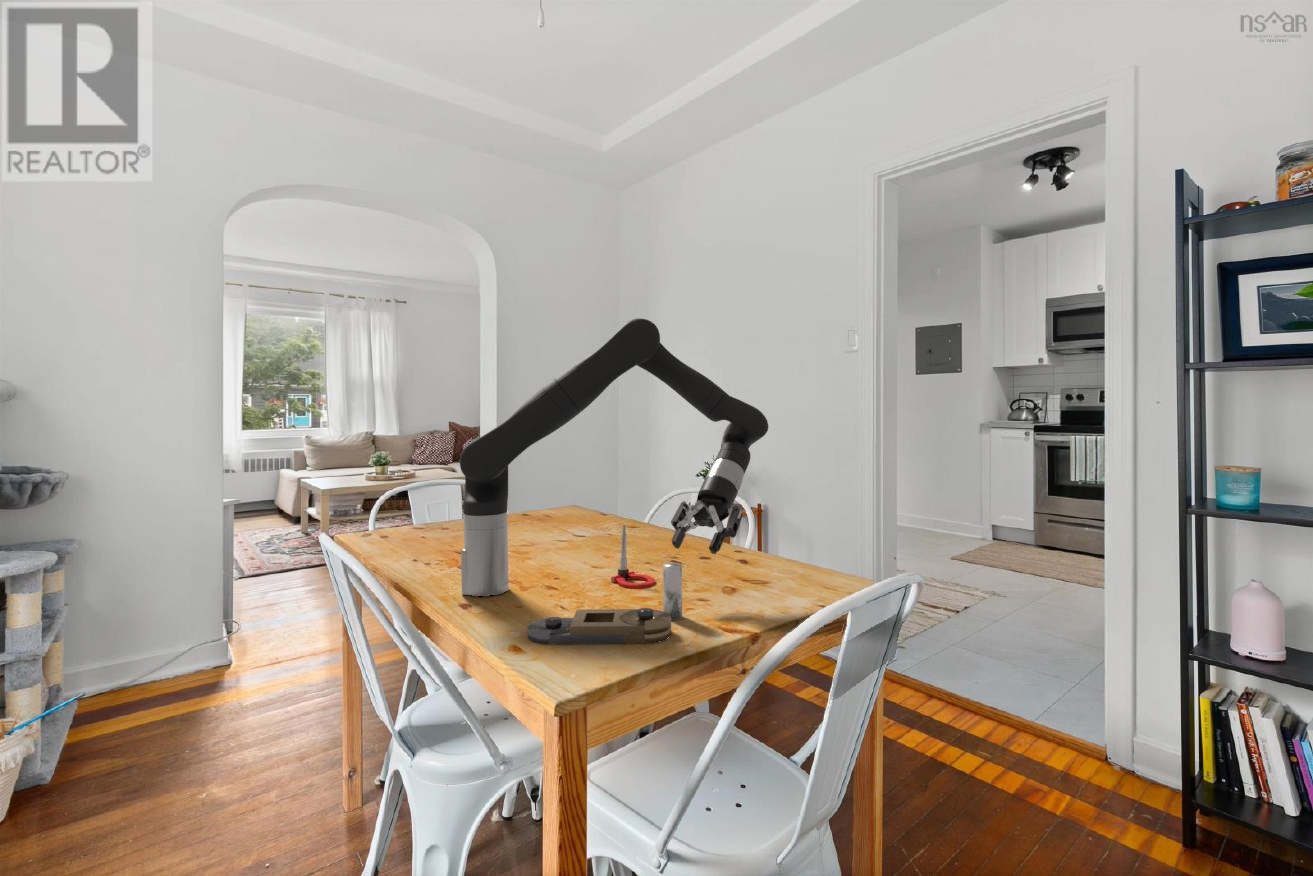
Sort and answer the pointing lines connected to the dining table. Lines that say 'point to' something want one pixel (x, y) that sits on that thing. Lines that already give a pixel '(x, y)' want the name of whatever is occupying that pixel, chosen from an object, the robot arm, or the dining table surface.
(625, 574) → the tow hook
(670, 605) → the steel pin
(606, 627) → the square hole link plate
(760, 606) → the dining table surface
